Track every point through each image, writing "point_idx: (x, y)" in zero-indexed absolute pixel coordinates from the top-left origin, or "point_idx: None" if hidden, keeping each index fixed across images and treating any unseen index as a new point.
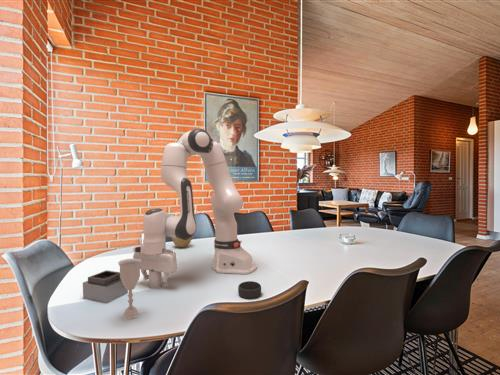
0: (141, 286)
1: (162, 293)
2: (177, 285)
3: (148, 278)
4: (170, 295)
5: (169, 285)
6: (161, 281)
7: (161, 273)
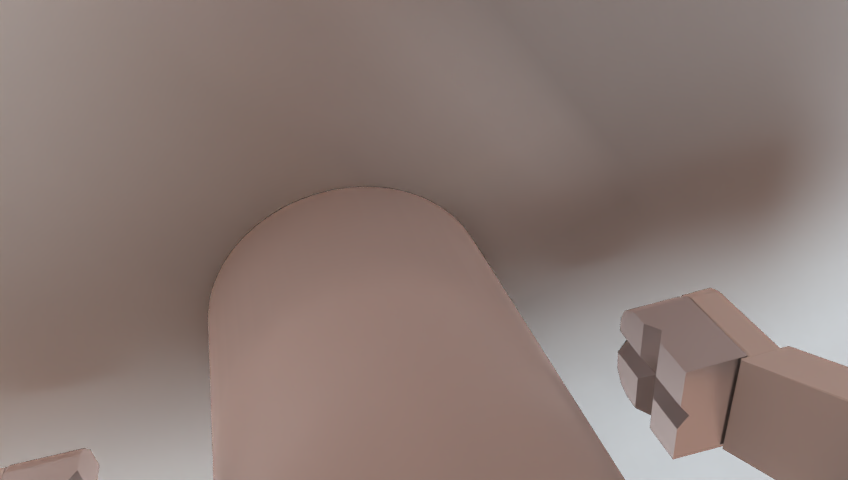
0: None
1: None
2: (786, 11)
3: (90, 466)
4: None
5: (609, 110)
6: (508, 298)
7: (599, 446)
